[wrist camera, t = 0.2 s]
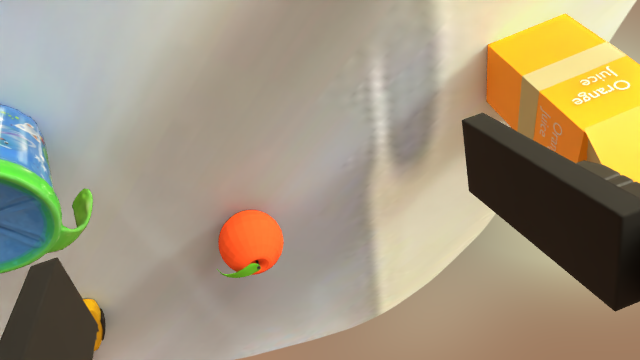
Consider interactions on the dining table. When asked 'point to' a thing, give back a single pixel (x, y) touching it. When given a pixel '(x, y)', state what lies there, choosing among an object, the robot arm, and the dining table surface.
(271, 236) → the clementine
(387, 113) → the dining table surface
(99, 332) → the yellow walkie talkie
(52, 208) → the snack cup
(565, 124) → the orange juice
